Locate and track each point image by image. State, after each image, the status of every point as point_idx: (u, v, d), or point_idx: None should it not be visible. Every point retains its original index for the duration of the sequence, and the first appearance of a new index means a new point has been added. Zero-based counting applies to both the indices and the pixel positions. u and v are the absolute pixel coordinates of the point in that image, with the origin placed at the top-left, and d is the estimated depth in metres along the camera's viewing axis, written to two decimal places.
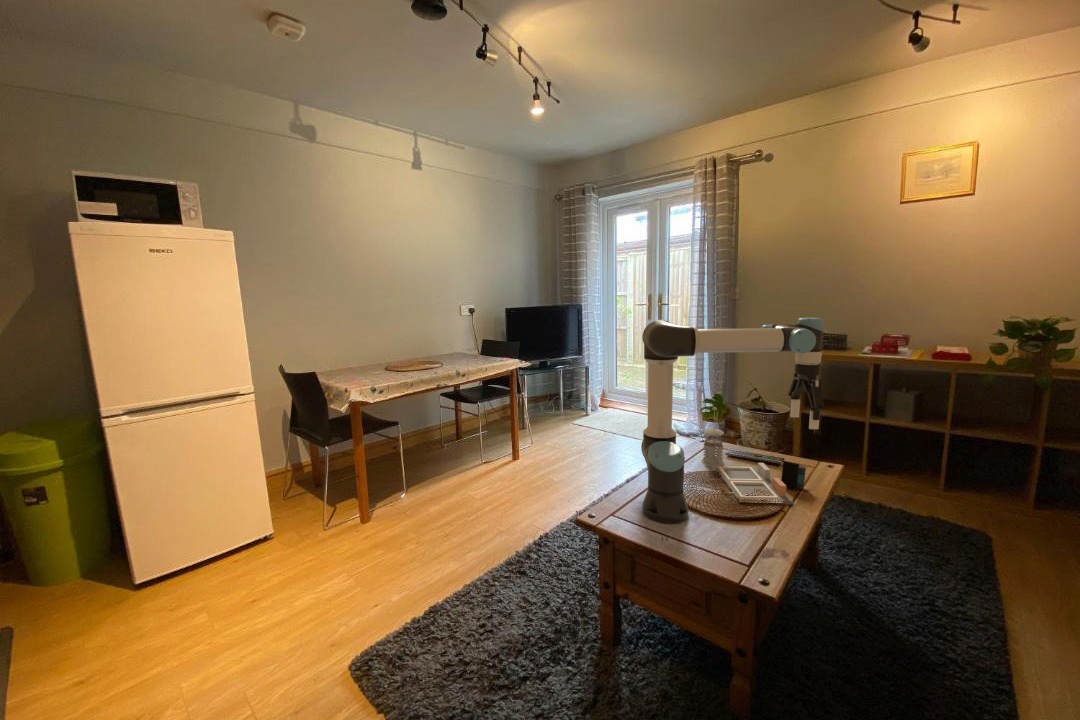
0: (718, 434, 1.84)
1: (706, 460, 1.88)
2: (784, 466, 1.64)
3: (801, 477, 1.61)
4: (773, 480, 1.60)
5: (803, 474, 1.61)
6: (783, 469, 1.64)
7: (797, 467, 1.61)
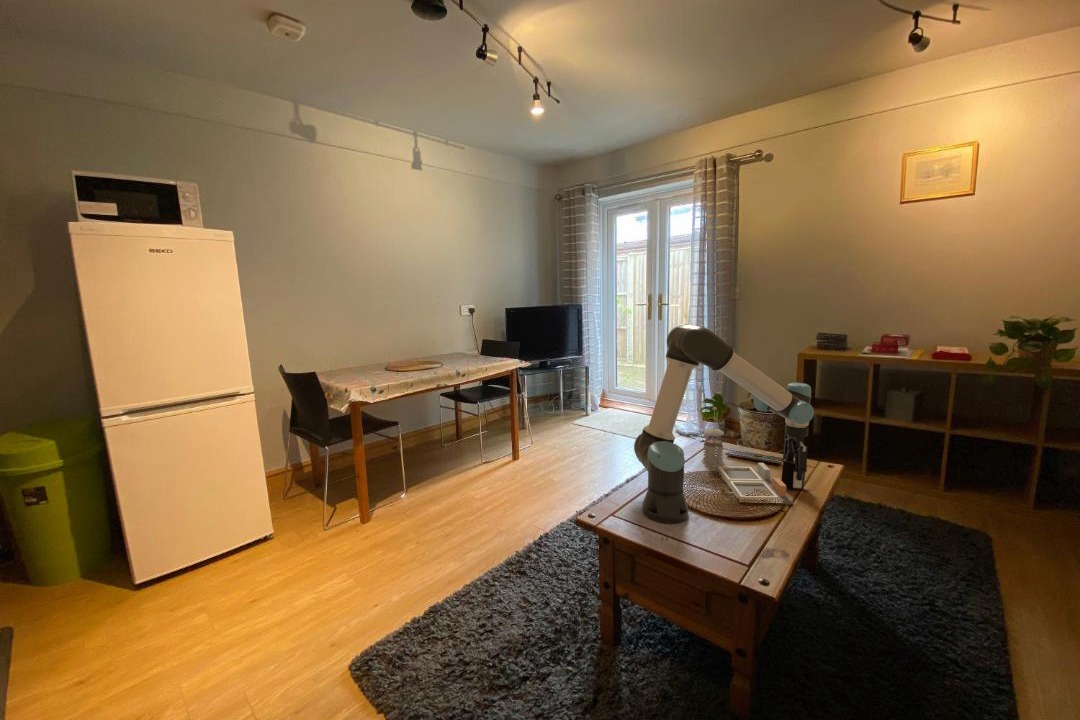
0: (718, 434, 1.84)
1: (706, 460, 1.88)
2: (784, 466, 1.64)
3: None
4: (773, 480, 1.60)
5: (803, 474, 1.61)
6: (783, 469, 1.64)
7: None
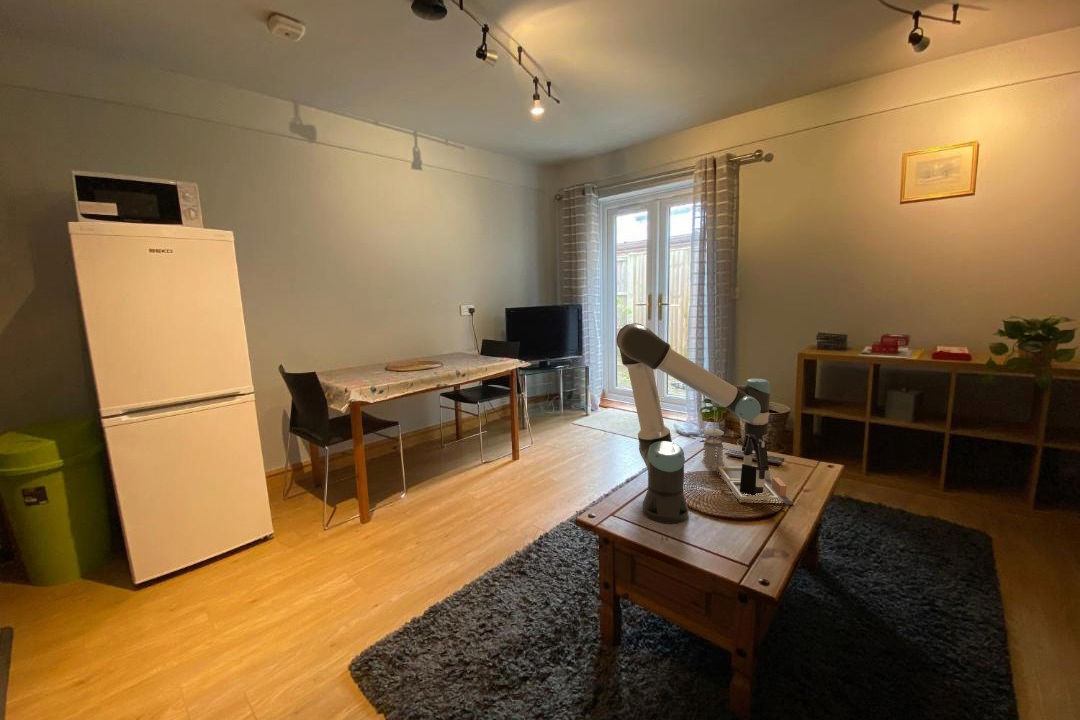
0: (718, 434, 1.84)
1: (706, 460, 1.88)
2: (743, 469, 1.59)
3: None
4: (773, 480, 1.60)
5: None
6: (742, 472, 1.59)
7: (756, 470, 1.56)
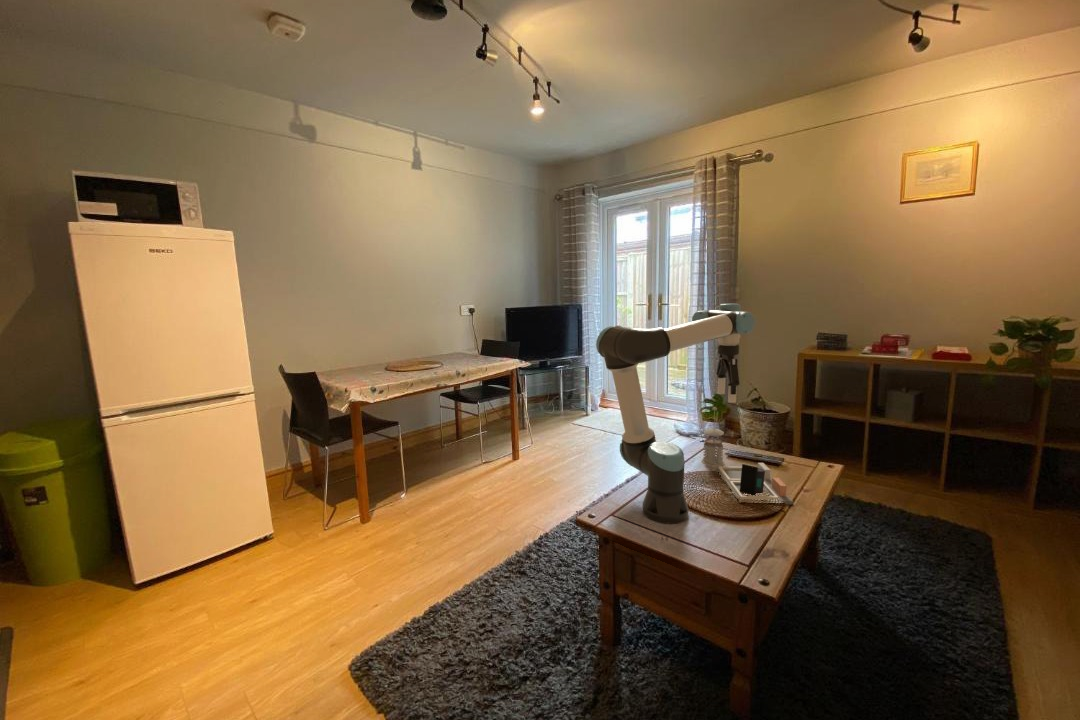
0: (718, 434, 1.84)
1: (706, 460, 1.88)
2: (743, 469, 1.59)
3: (760, 481, 1.56)
4: (773, 480, 1.60)
5: (762, 478, 1.57)
6: (742, 472, 1.59)
7: (756, 470, 1.56)
